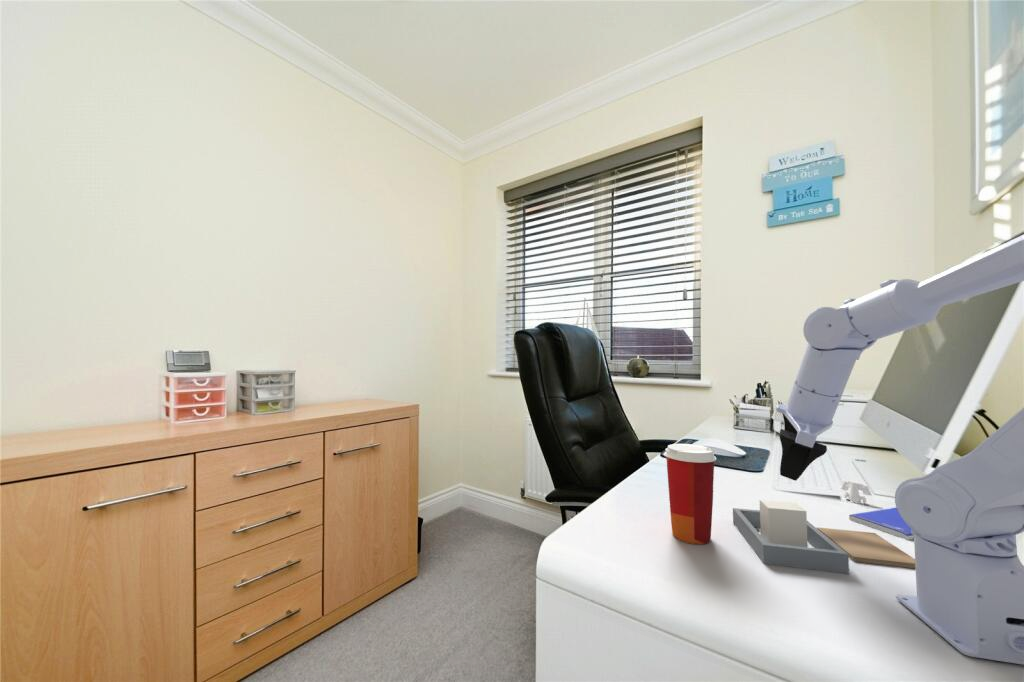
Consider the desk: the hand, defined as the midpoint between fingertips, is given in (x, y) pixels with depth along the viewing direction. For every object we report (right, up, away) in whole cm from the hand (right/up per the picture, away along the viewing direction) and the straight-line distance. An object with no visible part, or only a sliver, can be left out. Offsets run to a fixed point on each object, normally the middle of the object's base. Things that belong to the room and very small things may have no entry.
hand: (788, 465), depth 61 cm
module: (-3, -11, -2) cm, 12 cm away
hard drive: (+23, -13, +5) cm, 27 cm away
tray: (-3, -11, -2) cm, 12 cm away
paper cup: (-15, -12, 0) cm, 19 cm away
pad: (+9, -11, -3) cm, 15 cm away
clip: (+25, -13, +16) cm, 33 cm away
